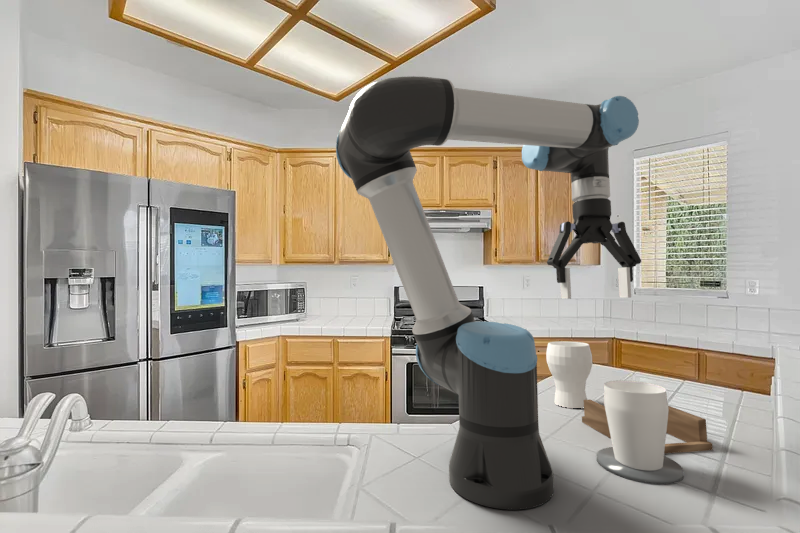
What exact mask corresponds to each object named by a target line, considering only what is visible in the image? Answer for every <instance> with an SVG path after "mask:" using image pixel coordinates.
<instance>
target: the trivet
mask: <svg viewBox="0 0 800 533" xmlns="http://www.w3.org/2000/svg"><path fill="white" fill-rule="evenodd" d="M596 461H597V463H598V465H599V466H600V467H601V468H603V469H604V470H605V471H607V472H610V473H611V474H613V475H615V476H618V477H621V478H624V479H627V480H630V481H633V482H634V481H635V482H638V483H644V484H651V485H671V484H676V483H678V482H681V481H682V480H683V479H684V478H685V470H684V468H683V466H682V465H680V464H679V462H677V461H675V460H673V459H672V458H669V457H667V456H665V455H664V460H663V467H662V468H661V469H658V470H654V471H645V470H638V469H634V468H630V467H627V466H625V465H623V464H621V463H620V462H618V461H617V460H616V459H615V456H614V451H613V446H610V447H605V448H602V449H600V450H597V452H596Z"/></svg>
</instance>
